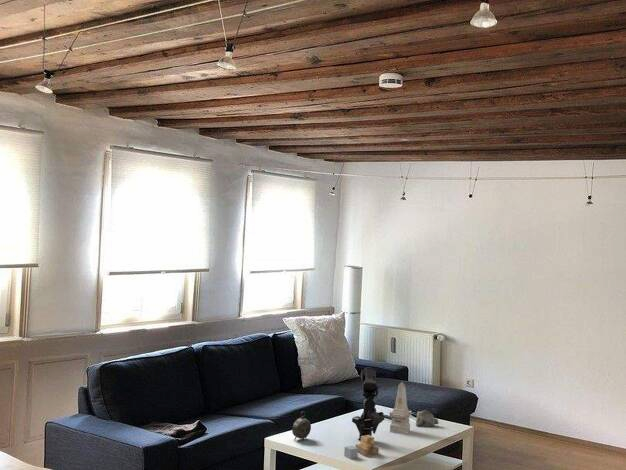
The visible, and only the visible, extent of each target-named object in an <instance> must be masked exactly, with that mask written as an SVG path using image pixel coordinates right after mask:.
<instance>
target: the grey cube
mask: <svg viewBox="0 0 626 470" xmlns="http://www.w3.org/2000/svg"><path fill="white" fill-rule="evenodd" d="M343 451H344V453H343V454H344V455H343V457H346V458H347V459H350V460H352V459H357V458H358V457H359V453H358V448H357V447H355V445H347V446H344V450H343Z"/></svg>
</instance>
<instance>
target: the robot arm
mask: <svg viewBox="0 0 626 470" xmlns="http://www.w3.org/2000/svg"><path fill="white" fill-rule="evenodd" d="M376 377H377V371H376V370H375V369H374V368H373V367H368V366H366V367H364V368H363V369H361V372H360V378H361V381H362V397H363V406H361V409H363V411H362V414H361V415H360V416H359V415H355V416H353V417H352V419H351V423H353V424H354V425H355V427H356V428H357V431H358V433H359V434H358V435H359V437H358V438H357V440H358V441H360V442H361V436H365V435H369V436H372V434H376V432H377V430H378V428H379V425H380V424H381V423H383V421H385V416H384V415H385V414H384V412H383V411H379V412H377V408H376V401H375V398H377V397H378V395H379V386H378V384H377V382H376ZM372 437H373V436H372Z"/></svg>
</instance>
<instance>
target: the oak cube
mask: <svg viewBox="0 0 626 470" xmlns="http://www.w3.org/2000/svg"><path fill="white" fill-rule="evenodd" d="M360 444H361V446H363V447H365V448H369V447H374V444H375V437H374V436H369V435H365V436H361V441H360Z"/></svg>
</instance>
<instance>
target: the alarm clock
mask: <svg viewBox="0 0 626 470" xmlns="http://www.w3.org/2000/svg"><path fill="white" fill-rule="evenodd" d="M303 412H304V415H300V417H299V418H297V419H296V420H295V421H294V423H293V424H292V428H291V431H292V432H291V433H292V434H293V436H294V437H295V438H294V441H293V442H295V441H296V439H300V440H302V441H305V439H307V437H308V436H309V435H310V432H311V430H312V425H311V422H310V421H309V420H308V419H307V418H305V416H306V411H305V410H303V411H301V412H300V414H302V413H303Z"/></svg>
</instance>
